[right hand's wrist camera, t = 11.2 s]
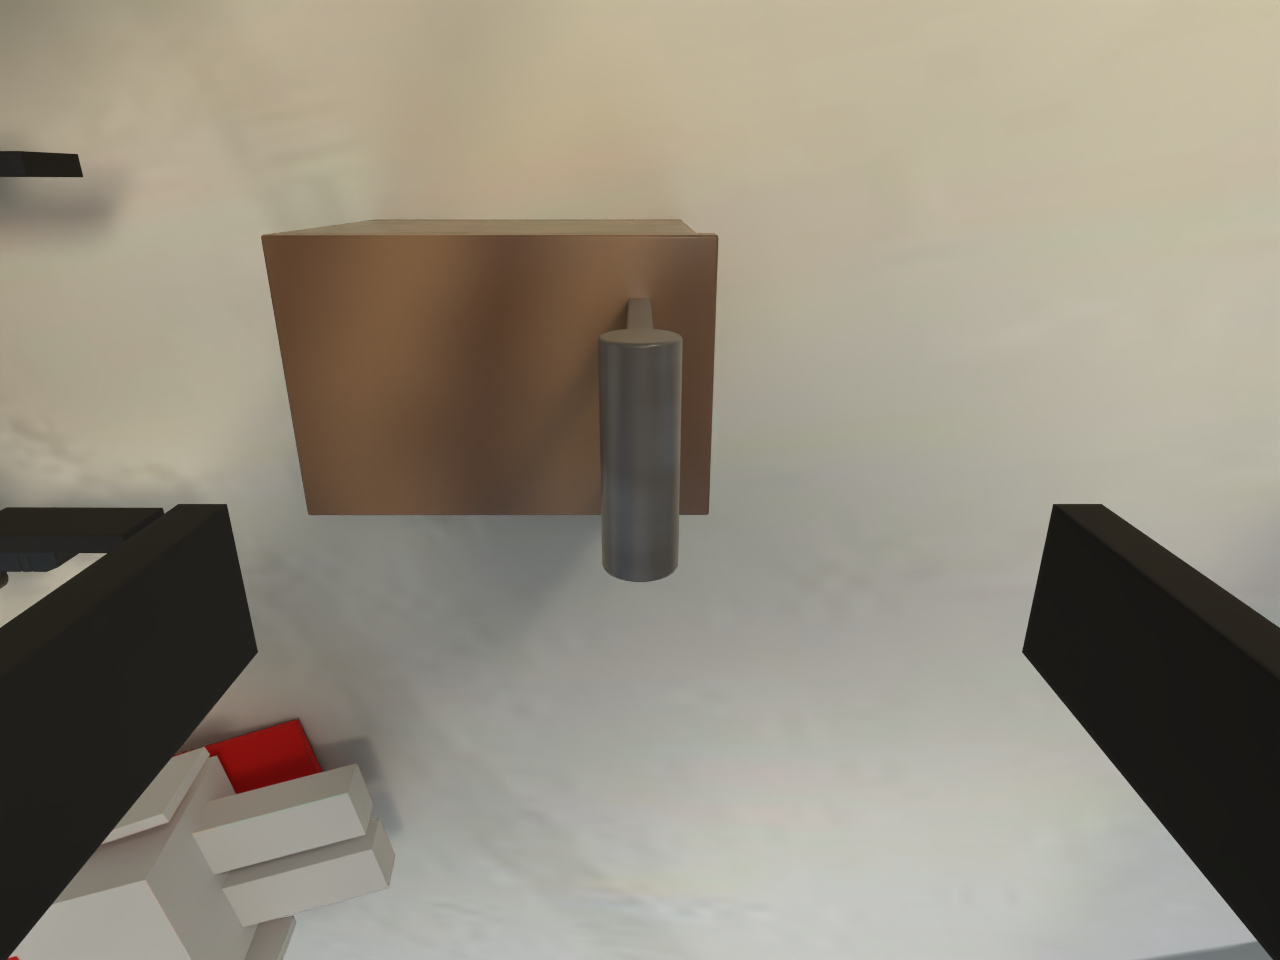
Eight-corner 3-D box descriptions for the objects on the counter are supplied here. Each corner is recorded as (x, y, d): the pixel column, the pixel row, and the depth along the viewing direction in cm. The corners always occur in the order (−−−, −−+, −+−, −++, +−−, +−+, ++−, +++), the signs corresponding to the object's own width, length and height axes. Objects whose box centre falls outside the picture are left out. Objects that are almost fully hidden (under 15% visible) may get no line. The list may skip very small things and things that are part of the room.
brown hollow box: (682, 219, 33) (698, 233, 24) (678, 425, 36) (691, 504, 27) (373, 219, 33) (274, 232, 24) (397, 425, 36) (318, 504, 27)
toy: (390, 1010, 36) (-273, 1195, 34) (426, 805, 49) (-59, 933, 47) (298, 813, 32) (-463, 1012, 30) (363, 643, 44) (-172, 777, 43)
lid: (715, 233, 24) (756, 259, 16) (706, 504, 27) (735, 644, 19) (273, 233, 24) (80, 259, 16) (318, 505, 27) (178, 645, 19)
